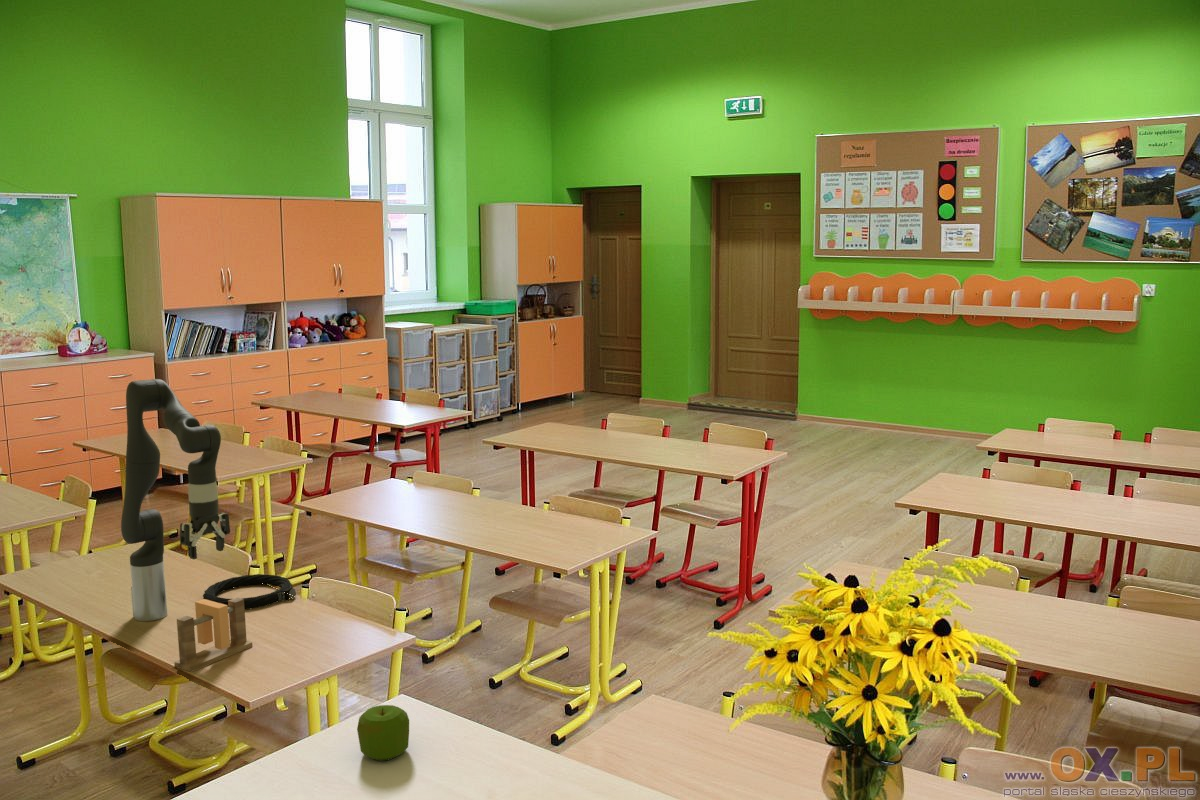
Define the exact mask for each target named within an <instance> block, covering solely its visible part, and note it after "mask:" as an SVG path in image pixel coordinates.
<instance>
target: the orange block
mask: <svg viewBox="0 0 1200 800" xmlns="http://www.w3.org/2000/svg"><path fill="white" fill-rule="evenodd" d="M194 607H195V619H197V618H200V617H203V616H205V615H209V616H213V619H211V620H209V621H206V622H203V623H201V624H198V625H196V635H197V637H196V638H197V643H198V644H201V645H207V644H210V643H212V642H214V646H215V648H217V649H220V650H223V649H225V648H228V647H230V640H231V637H230V622H229V613H228V605H225V604H221V603H217V602H213V601H210V600H206V599H203V598H202V599H199V600H197V601H195V602H194Z"/></svg>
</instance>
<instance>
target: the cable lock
mask: <svg viewBox="0 0 1200 800" xmlns="http://www.w3.org/2000/svg"><path fill="white" fill-rule="evenodd" d="M262 583H263V584H265V585H263V584H262ZM256 584H258V586H259V584H261V585H260V586H266V585H268V586H273V587H278V589H277V590H274V591H272V592H270V593H269V592H268V593H265V594H262V595H258V596H253V597H252V596H251V597H244V598H243V597H242V598H241V599H244V608H245V610H250V608H252V609H256V608H261V607H266V605H267V606H270V605H272V604H275V603H281V602H284V601H287V600H288V599H289V598H290V600H291V597H292V598H294V599H295V598H296V596H297V592H296V589H295V588H294V587H293V584H292V583H291V581H290V580H289V579H287V578H286V577H284V576H280V575H277V574H262V573H257V574H249V575H248V574H246V575H241V576H234V577H230V578H227V579H223V580H221V581H217V582H215V583H214V584H212V585H209V586H208V587H207V588H206V589H205V590H204V591H203V592H204V593H203V594H202V597H203V598H202V599H206V600H210V601H213V602H217V603H221V604H225V605H228V601H229V600H231V599H232V598H227V597H226V598H225V597H219V596H217V595H219V594H220V593H223V592H224V591H223V590H226V591H227V589H228V590H230V588H232V589H234V588H233V587H237V588H240V587H239V586H241V587H245V586H248V585H249V586H256ZM222 591H223V592H222ZM284 592H285V593H284ZM287 593H288V594H287ZM289 594H291V595H289ZM292 595H293V596H292ZM294 596H295V597H294ZM277 601H278V602H277ZM288 601H289V600H288ZM269 604H270V605H269Z"/></svg>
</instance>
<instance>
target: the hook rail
mask: <svg viewBox="0 0 1200 800" xmlns="http://www.w3.org/2000/svg"><path fill="white" fill-rule="evenodd" d="M230 599H231V600H229V601H228V620H229V635H230V647H228V648H225V649H223V650H220V649H217V648H215V645H213V646H210V647H209V648H205V649H204V650H201V651H198V652H197V647H196V645H197V644H196V634H195V631H196V630H195V626H197V625H198V624H201V623H203V622H206V621H209V620H211V619H212V620H213V616H209V615H205V616H203V617H200V618H197V619H196V618H194V617H192V616H189V615H184V616H182V617H179V618H176V628H177V629H176V631H177V640H178V642H177V643H178V655H179V660H176V661H174V662H173V663H174V667H175V668H178V669H181V670H185V671H188V672H190V673H191V672H193V671H194V672H195V671H196V670H199V669H201V668H203V667H206V666H208V665H210V664H213V663H216V662H219V661H220V660H223V659H225V658H227V657H230V656H232V655H234V654H235V655H236V654H238V653H239V652H242V651H244V650H246V649H249V648H252V647H253V641H251V640H250V641H249V640H247V628H246V627H247V625H246V611H245V610H246V609H245V608H244V599H241V598H240V597H234V598H230Z"/></svg>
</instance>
